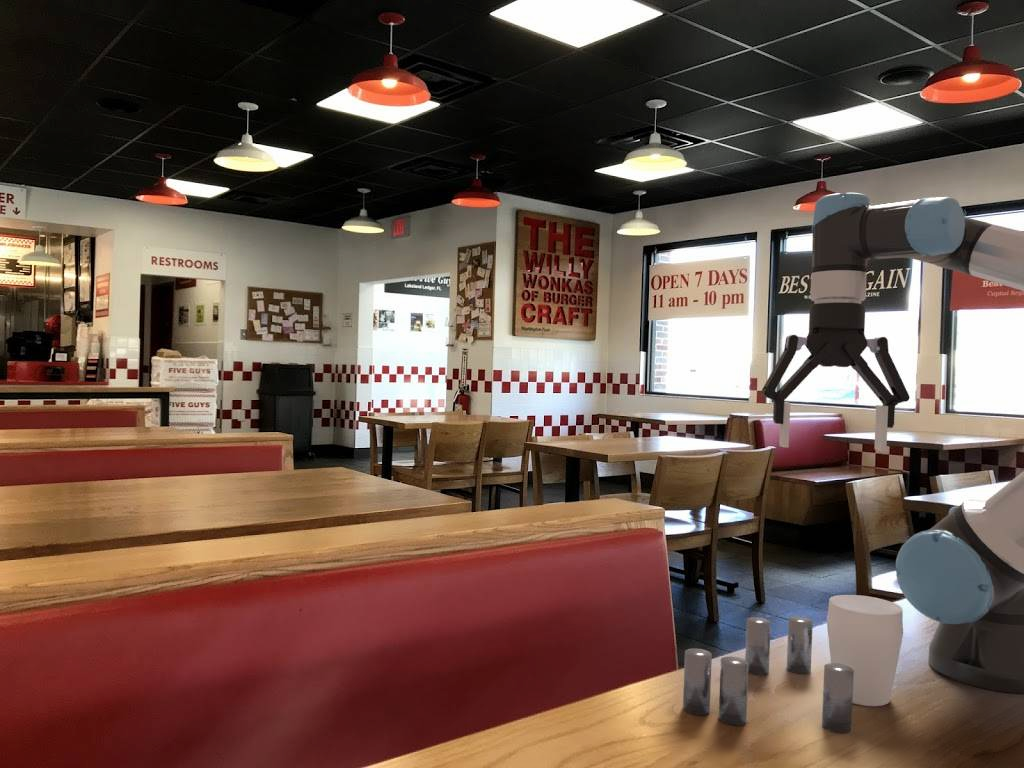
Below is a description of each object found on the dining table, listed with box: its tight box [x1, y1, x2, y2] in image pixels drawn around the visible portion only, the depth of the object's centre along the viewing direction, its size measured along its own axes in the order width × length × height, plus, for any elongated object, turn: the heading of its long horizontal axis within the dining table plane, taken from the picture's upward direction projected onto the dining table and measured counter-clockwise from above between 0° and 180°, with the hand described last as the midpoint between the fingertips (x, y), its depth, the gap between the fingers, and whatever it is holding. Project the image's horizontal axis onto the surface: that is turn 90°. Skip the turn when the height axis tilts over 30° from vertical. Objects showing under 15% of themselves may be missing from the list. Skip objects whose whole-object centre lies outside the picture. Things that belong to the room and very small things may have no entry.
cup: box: [826, 594, 904, 707], centre depth 103 cm, size 9×9×12 cm
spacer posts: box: [682, 616, 854, 734], centre depth 104 cm, size 19×21×7 cm
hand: (831, 448), depth 117 cm, fingers open, 13 cm apart
